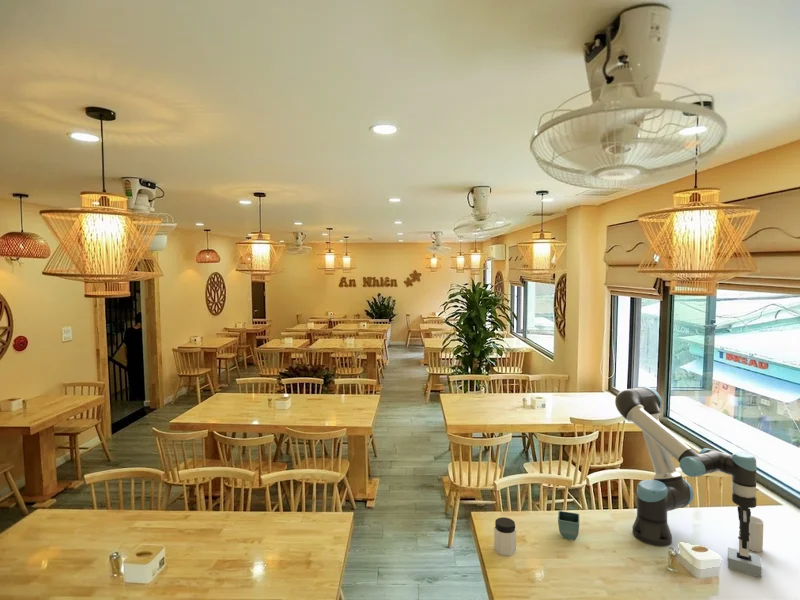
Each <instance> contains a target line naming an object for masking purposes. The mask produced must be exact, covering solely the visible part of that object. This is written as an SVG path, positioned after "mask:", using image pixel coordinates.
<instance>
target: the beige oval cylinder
mask: <svg viewBox="0 0 800 600" xmlns="http://www.w3.org/2000/svg"><path fill="white" fill-rule="evenodd" d="M749 533H750V535H749V551H753V552H757V553H761V552H762V551H763V550H764V549H763V545H764V543H763V542H764V521H763V520H762V519H761V518H760V517H756V516H754V515H751V516H750V523H749Z"/></svg>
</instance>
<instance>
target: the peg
mask: <svg viewBox="0 0 800 600" xmlns="http://www.w3.org/2000/svg"><path fill="white" fill-rule="evenodd" d="M738 533H739V535H738V537H740V532H739V531H738ZM738 540H739V541H738V545H739V546H738V550H739V558H740V559H744V560H748V561H749V557H745V556H742V555H740V539H738Z"/></svg>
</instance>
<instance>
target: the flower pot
mask: <svg viewBox="0 0 800 600" xmlns="http://www.w3.org/2000/svg"><path fill="white" fill-rule="evenodd" d="M557 514H558V516H557V525H558V531H559V534H560V537H562V539H565V538H566V539H565V540H571V541H576V540H577V539H578V537H579V533H580V532H579V531H580V514H579V513H575V512H569V511H568V512H567V511H564V510H558V513H557Z"/></svg>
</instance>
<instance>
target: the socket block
mask: <svg viewBox="0 0 800 600" xmlns="http://www.w3.org/2000/svg"><path fill="white" fill-rule="evenodd" d="M761 562H762V561H761V556H760V555H759V554H755V553H751V552H749V561H748V560H744V559H740V558H739V549H737V548H732V547H729V546H728V547H727V566H728V567H727V568H728V569H730V570H733V571H737V572H741V573H744V574H747V575H751V576H755V577H758V578H762V563H761Z"/></svg>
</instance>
